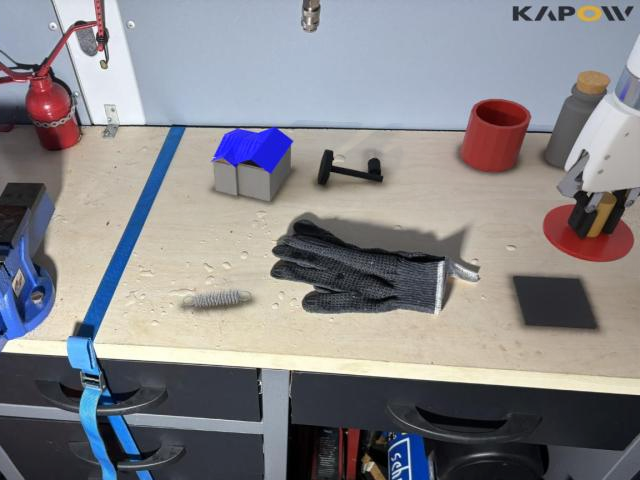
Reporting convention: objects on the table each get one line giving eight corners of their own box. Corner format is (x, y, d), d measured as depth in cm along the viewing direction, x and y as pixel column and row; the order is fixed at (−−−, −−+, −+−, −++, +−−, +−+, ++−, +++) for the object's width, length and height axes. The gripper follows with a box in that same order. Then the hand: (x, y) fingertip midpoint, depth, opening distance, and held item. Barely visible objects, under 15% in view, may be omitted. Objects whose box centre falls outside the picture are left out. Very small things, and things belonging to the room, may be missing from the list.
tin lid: (615, 212, 78) (636, 172, 73) (641, 268, 71) (667, 227, 66) (532, 209, 79) (548, 170, 74) (551, 264, 72) (569, 224, 67)
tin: (510, 142, 110) (524, 99, 104) (520, 172, 104) (536, 129, 97) (457, 140, 111) (468, 98, 105) (464, 171, 105) (476, 127, 98)
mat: (578, 280, 86) (579, 278, 86) (595, 328, 80) (597, 327, 80) (512, 277, 87) (513, 275, 87) (525, 325, 81) (526, 323, 81)
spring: (183, 311, 86) (181, 301, 84) (183, 300, 87) (181, 291, 86) (251, 305, 86) (251, 295, 84) (250, 294, 87) (250, 285, 86)
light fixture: (374, 161, 111) (377, 203, 103) (318, 149, 111) (317, 191, 102) (385, 133, 107) (389, 175, 98) (327, 121, 107) (326, 162, 98)
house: (213, 191, 104) (209, 151, 98) (239, 157, 110) (237, 118, 105) (269, 205, 101) (268, 165, 95) (293, 169, 107) (294, 130, 101)
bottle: (536, 154, 107) (566, 74, 96) (561, 145, 108) (594, 65, 97) (561, 171, 103) (595, 90, 92) (587, 162, 105) (623, 81, 94)
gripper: (709, 62, 63) (633, 201, 77) (563, 79, 62) (511, 218, 76) (762, 97, 58) (670, 240, 72) (603, 117, 57) (540, 258, 71)
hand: (589, 227), depth 74 cm, fingers closed on tin lid, 2 cm apart
